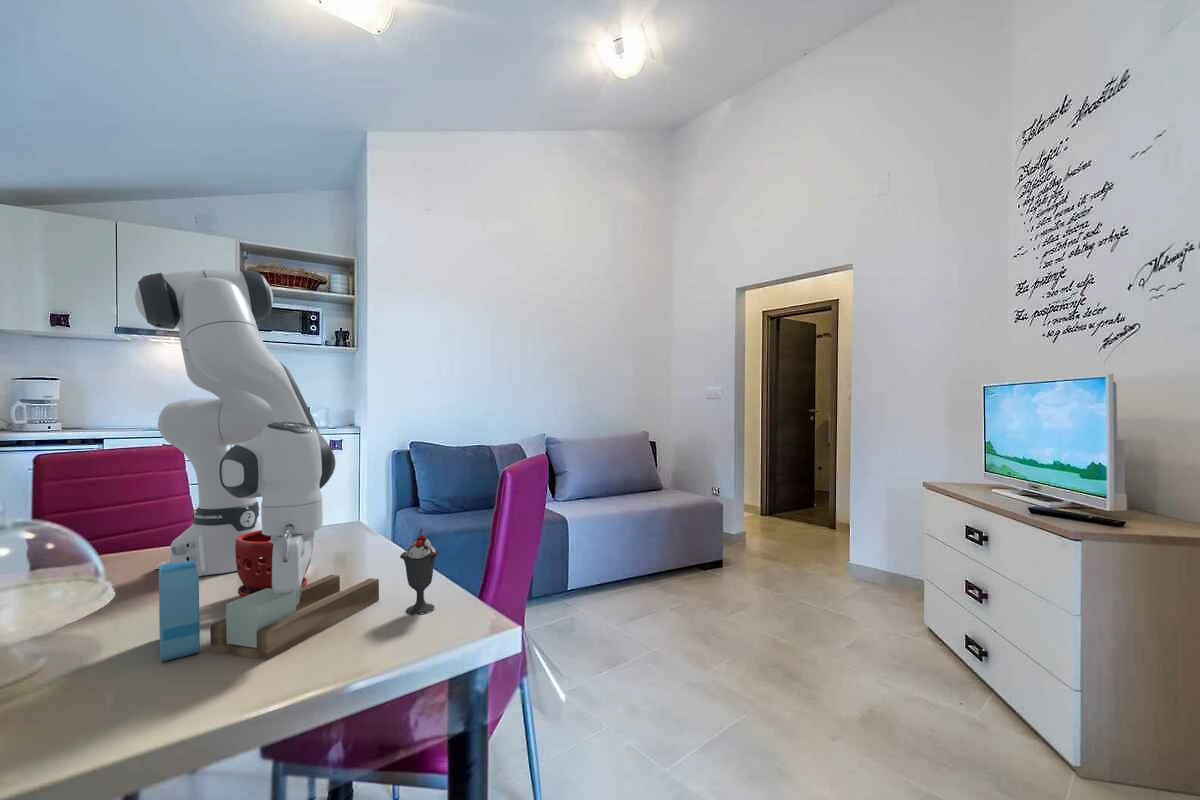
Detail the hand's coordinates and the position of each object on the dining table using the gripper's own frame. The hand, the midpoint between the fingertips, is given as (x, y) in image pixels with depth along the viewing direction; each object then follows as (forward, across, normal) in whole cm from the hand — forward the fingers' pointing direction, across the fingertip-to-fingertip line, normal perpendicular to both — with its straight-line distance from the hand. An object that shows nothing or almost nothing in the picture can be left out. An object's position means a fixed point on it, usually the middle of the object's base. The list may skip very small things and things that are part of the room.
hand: (294, 602), depth 89 cm
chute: (+4, +2, -1) cm, 5 cm away
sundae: (+4, -1, -20) cm, 20 cm away
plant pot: (+4, +20, +5) cm, 22 cm away
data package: (+4, 0, +16) cm, 16 cm away
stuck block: (+3, -4, +4) cm, 7 cm away
